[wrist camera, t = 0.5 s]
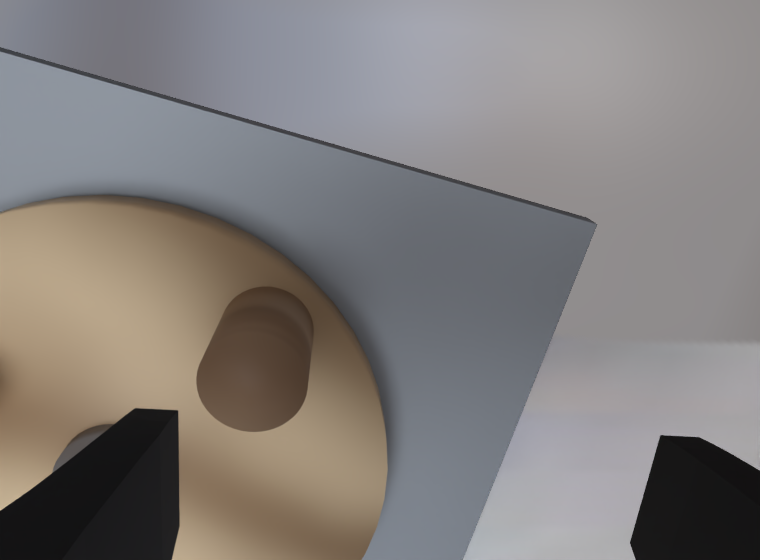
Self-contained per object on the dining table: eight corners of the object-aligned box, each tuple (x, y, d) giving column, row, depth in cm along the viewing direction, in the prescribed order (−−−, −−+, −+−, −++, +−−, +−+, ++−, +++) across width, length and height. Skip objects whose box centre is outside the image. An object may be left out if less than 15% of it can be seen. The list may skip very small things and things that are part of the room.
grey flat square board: (388, 720, 25) (390, 749, 24) (-250, 612, 22) (-280, 639, 21) (587, 217, 19) (601, 227, 18) (-242, -23, 16) (-282, -29, 15)
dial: (313, 680, 23) (307, 813, 19) (-176, 595, 21) (-300, 724, 17) (451, 278, 18) (481, 339, 14) (-149, 117, 16) (-309, 135, 12)
